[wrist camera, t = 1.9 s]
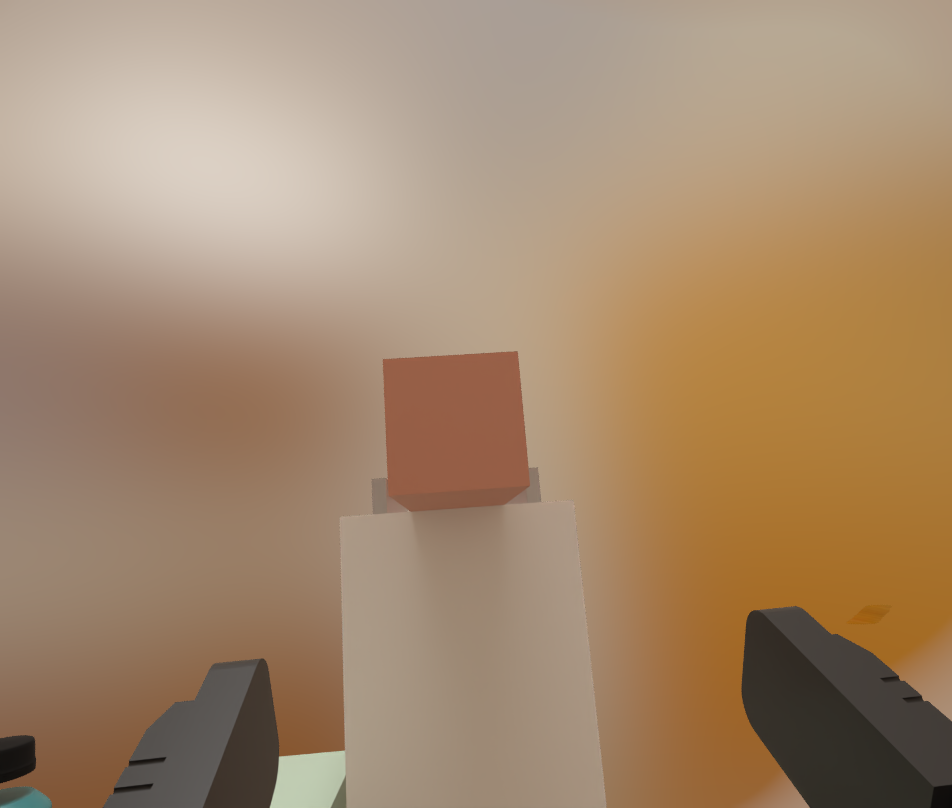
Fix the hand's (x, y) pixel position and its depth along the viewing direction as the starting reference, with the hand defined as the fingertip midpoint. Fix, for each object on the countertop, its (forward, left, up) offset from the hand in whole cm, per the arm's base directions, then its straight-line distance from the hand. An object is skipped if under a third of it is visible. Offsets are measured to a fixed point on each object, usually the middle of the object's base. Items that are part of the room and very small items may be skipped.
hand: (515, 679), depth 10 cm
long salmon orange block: (-1, +17, +4) cm, 17 cm away
